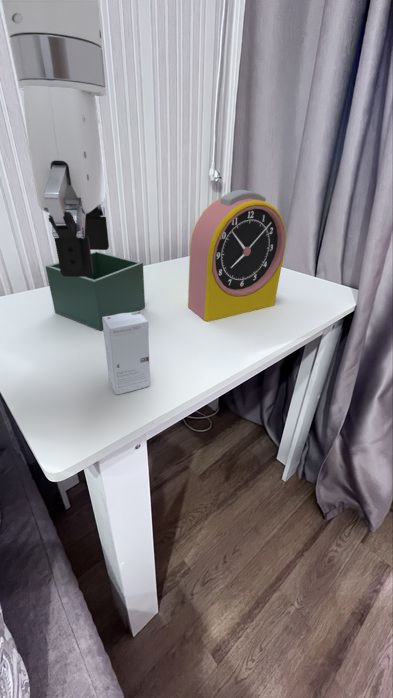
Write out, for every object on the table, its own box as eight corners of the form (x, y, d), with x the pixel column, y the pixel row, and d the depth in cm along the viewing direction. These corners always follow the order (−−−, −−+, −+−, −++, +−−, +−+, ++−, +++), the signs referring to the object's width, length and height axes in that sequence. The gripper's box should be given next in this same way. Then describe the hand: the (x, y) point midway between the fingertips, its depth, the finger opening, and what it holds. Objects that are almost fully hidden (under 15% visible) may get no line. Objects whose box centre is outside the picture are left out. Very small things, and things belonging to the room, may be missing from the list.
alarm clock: (205, 321, 75) (214, 195, 61) (186, 306, 82) (189, 189, 68) (275, 305, 85) (296, 192, 70) (253, 292, 91) (268, 186, 77)
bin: (100, 331, 70) (94, 281, 64) (55, 312, 76) (45, 266, 70) (145, 307, 80) (143, 262, 75) (101, 292, 87) (96, 250, 81)
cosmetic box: (115, 396, 53) (108, 329, 46) (108, 380, 56) (99, 316, 49) (152, 385, 55) (149, 321, 49) (142, 371, 59) (139, 309, 52)
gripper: (49, 83, 37) (74, 240, 46) (-34, 48, 22) (27, 289, 31) (118, 87, 37) (129, 242, 46) (81, 55, 23) (107, 290, 32)
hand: (88, 261), depth 39 cm, fingers open, 9 cm apart
